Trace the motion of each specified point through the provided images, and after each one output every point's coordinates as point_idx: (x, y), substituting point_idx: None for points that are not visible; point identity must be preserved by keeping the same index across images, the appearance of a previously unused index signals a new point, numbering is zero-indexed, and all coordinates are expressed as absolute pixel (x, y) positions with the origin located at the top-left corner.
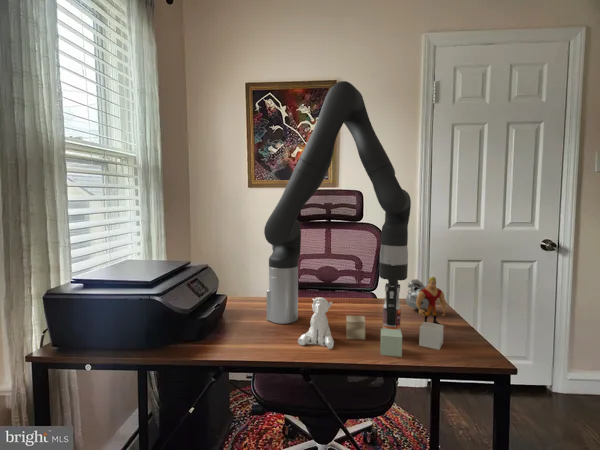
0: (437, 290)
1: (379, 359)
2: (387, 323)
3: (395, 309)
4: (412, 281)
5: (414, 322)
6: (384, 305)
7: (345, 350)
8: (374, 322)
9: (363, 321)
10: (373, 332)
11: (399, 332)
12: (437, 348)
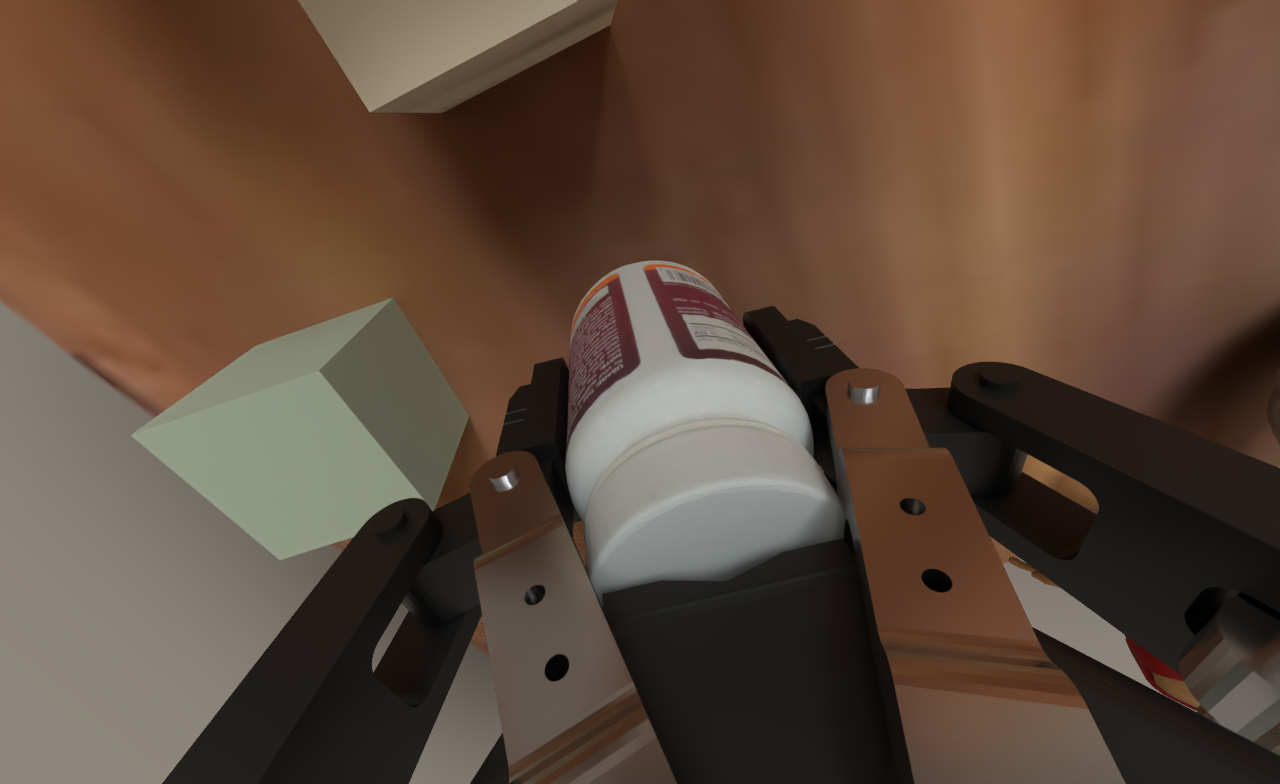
0: None
1: (180, 361)
2: (536, 370)
3: (416, 624)
4: None
5: (1010, 363)
6: (632, 410)
7: (5, 11)
8: (973, 27)
9: (367, 74)
10: (671, 127)
11: (362, 521)
12: None
